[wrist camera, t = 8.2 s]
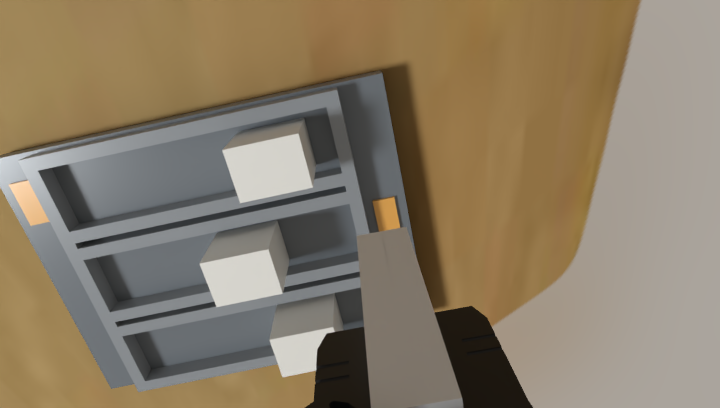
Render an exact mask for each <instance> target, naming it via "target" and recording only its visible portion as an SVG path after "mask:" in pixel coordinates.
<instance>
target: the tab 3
mask: <svg viewBox="0 0 720 408" xmlns="http://www.w3.org/2000/svg"><path fill="white" fill-rule="evenodd" d="M337 331H343V322H342V319H341V315H340V311H339V308H338V304H337V300H336V297H335V293H332V294H327V295H322V296H317V297H312V298H307V299H303V300H298V301H293V302H288V303H283V304H278V305H277V307H276V311H275V316H274V320H273V325H272V330H271V334H270V339H269V340H270V343H271V346H272V349H273V352H274V354H275V357H276V360H277V363H278V366H279V368H280V371H281V374H282V377H286V376H291V375H296V374H301V373H306V372H311V371H316V370H317V369H316V361H317V349H318V347H319V346H320V344H321V342H322V340H323V339H324V337H325V335H326V334H327V333H332V332H337Z"/></svg>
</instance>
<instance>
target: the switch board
mask: <svg viewBox="0 0 720 408" xmlns="http://www.w3.org/2000/svg"><path fill="white" fill-rule="evenodd" d="M300 118H304V120H305V123H306V127H307V131H308V135H309V139H310V143H311V147H312V151H313V154H314V158H315V162H316V171H315V177H314V184H313V188H309V189H305V190H300V191H295V192H291V193H286V194H281V195H277V196H272V197H267V198H263V199H258V200H253V201H249V202H244V203H240V201H239V198H238V196H237V193H236V190H235V187H234V184H233V181H232V178H231V175H230V172H229V169H228V166H227V163H226V160H225V157H224V154H223V151H222V150H223V149H224V147H225V146H226V145H227V144H228V143H229V142H230V141H231V140H232V138H233V137H234V136H235V135H236V134H237V133H238V132H241V131H245V130H250V129H254V128H259V127H263V126H268V125H272V124H277V123H282V122H286V121H291V120H295V119H300ZM0 187H1V189H2V191H3V193H4V195H5V197H6V198H7V200H8V202H9V204H10V206H11V207H12V209H13V211H14V213H15V215H16V216H17V218H18V220H19V222H20V224H21V226H22V227H23V229H24V231H25V233H26V235H27V236H28V238H29V240H30V242H31V244H32V246H33V247H34V249H35V251H36V253H37V255H38V256H39V258H40V260H41V262H42V264H43V266H44V267H45V269H46V271H47V273H48V275H49V276H50V278H51V280H52V282H53V284H54V286H55V287H56V289H57V291H58V293H59V295H60V296H61V298H62V300H63V302H64V304H65V306H66V307H67V309H68V311H69V313H70V315H71V316H72V318H73V320H74V322H75V324H76V325H77V327H78V329H79V331H80V333H81V335H82V336H83V338H84V340H85V342H86V344H87V345H88V347H89V349H90V351H91V353H92V355H93V356H94V358H95V360H96V362H97V364H98V365H99V367H100V369H101V371H102V373H103V375H104V376H105V378H106V380H107V382H108V384H109V385H110V387H111V389H112V388H117V387H122V386H127V385H132V384H135V386H136V388H137V390H138V392H141V391H146V390H151V389H156V388H161V387H166V386H171V385H176V384H181V383H186V382H191V381H196V380H201V379H206V378H211V377H216V376H221V375H226V374H231V373H236V372H241V371H246V370H251V369H256V368H261V367H266V366H271V365H276V364H278V363H277V360H276V357H275V354H274V352H273V349H272V346H271V343H270V340H269V339H270V334H271V330H272V325H273V320H274V316H275V311H276V307H277V305H278V304H283V303H288V302H293V301H298V300H303V299H307V298H312V297H317V296H322V295H327V294H332V293H335V297H336V300H337V304H338V308H339V311H340V315H341V319H342V322H343V330H348V329H354V328H360V327H364V319H363V307H362V295H361V283H360V271H359V259H358V247H357V236H359V235H364V234H370V233H375V232H381V231H386V230H391V229H397V228H402V227H407V231H408V234H409V237H410V240H411V243H412V246H413V249H414V252H415V247H414V241H413V236H412V231H411V225H410V220H409V214H408V209H407V204H406V198H405V193H404V187H403V182H402V177H401V171H400V166H399V160H398V155H397V150H396V144H395V139H394V133H393V128H392V123H391V117H390V112H389V106H388V101H387V96H386V90H385V85H384V79H383V74H382V72H381V71H380V70H379V71H375V72H370V73H366V74H361V75H357V76H352V77H348V78H343V79H339V80H334V81H330V82H325V83H321V84H316V85H312V86H307V87H303V88H298V89H294V90H289V91H285V92H280V93H276V94H271V95H267V96H263V97H258V98H254V99H249V100H245V101H240V102H236V103H231V104H227V105H222V106H218V107H213V108H209V109H204V110H200V111H195V112H191V113H186V114H182V115H177V116H173V117H168V118H164V119H159V120H155V121H150V122H146V123H141V124H137V125H132V126H128V127H123V128H119V129H114V130H110V131H106V132H101V133H97V134H92V135H88V136H83V137H79V138H74V139H70V140H65V141H61V142H56V143H52V144H47V145H43V146H38V147H34V148H29V149H25V150H20V151H16V152H11V153H7V154H3V155H0ZM275 220H277V221H278V224H279V227H280V231H281V234H282V237H283V240H284V244H285V247H286V250H287V253H288V256H289V260H290V261H289V266H288V271H287V275H286V280H285V285H284V290H283V294H279V295H274V296H269V297H264V298H259V299H255V300H250V301H245V302H240V303H235V304H230V305H225V306H221V307H216V304H215V302H214V299H213V297H212V294H211V292H210V289H209V287H208V284H207V282H206V279H205V277H204V274H203V272H202V269H201V267H200V264H199V263H200V262H201V260H202V258H203V256H204V255H205V253H206V251H207V249H208V248H209V246H210V244H211V242H212V241H213V239H214V237H215V235H216V233H218V232H223V231H228V230H232V229H237V228H242V227H246V226H251V225H256V224H261V223H265V222H270V221H275ZM415 255H416V252H415Z"/></svg>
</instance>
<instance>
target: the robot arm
mask: <svg viewBox="0 0 720 408" xmlns="http://www.w3.org/2000/svg"><path fill="white" fill-rule="evenodd" d="M357 247H358V259H359V271H360V283H361V295H362V307H363V319H364V327H360V328H354V329H348V330H343V331H337V332H332V333H327V334H326V335H325V337H324V339H323V340H322V342H321V344H320V346H319V347H318V349H317V361H316V369H317V370H316V376H315V382H316V384H315V392H314V402H312V403H311V404H310V405H308V406H307V407H305V408H533V407H532V405H531V404H530V402H529V401H528V399H527V397H526V395H525V393H524V391H523V389H522V387H521V385H520V383H519V381H518V379H517V377H516V375H515V373H514V371H513V369H512V367H511V365H510V363H509V361H508V359H507V357H506V355H505V353H504V351H503V350H502V348H501V345H500V343H499V341H498V339H497V337H496V336H495V333H494V331H493V329H492V327H491V325H490V323H489V321H488V319H487V317H485V316H484V315H483V314H481V313H480V312H479V311H478V310H476V309H475V308H474V307H472V306H469V307H463V308H458V309H452V310H447V311H441V312H435V313H434V310H433V307H432V304H431V301H430V298H429V295H428V292H427V289H426V286H425V283H424V279H423V276H422V273H421V270H420V267H419V264H418V261H417V258H416V255H415V252H414V249H413V246H412V243H411V240H410V237H409V234H408V231H407V227H402V228H397V229H391V230H386V231H381V232H375V233H370V234H364V235H359V236H357Z"/></svg>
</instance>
